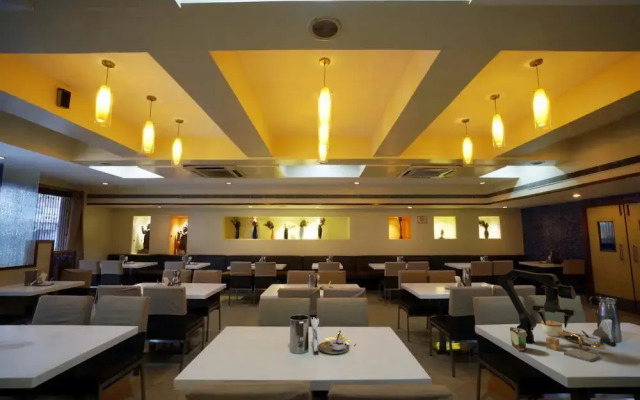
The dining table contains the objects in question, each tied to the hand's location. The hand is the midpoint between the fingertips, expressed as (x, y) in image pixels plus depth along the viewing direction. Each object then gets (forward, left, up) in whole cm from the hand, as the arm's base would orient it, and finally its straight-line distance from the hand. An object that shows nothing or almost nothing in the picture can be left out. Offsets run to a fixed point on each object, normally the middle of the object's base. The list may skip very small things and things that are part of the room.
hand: (555, 325), depth 170 cm
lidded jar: (-15, +26, -13) cm, 32 cm away
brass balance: (+5, +13, -12) cm, 19 cm away
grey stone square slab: (+11, -1, -12) cm, 17 cm away
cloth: (-68, -99, -13) cm, 121 cm away
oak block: (-2, -1, -12) cm, 13 cm away
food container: (-10, -17, -13) cm, 23 cm away
